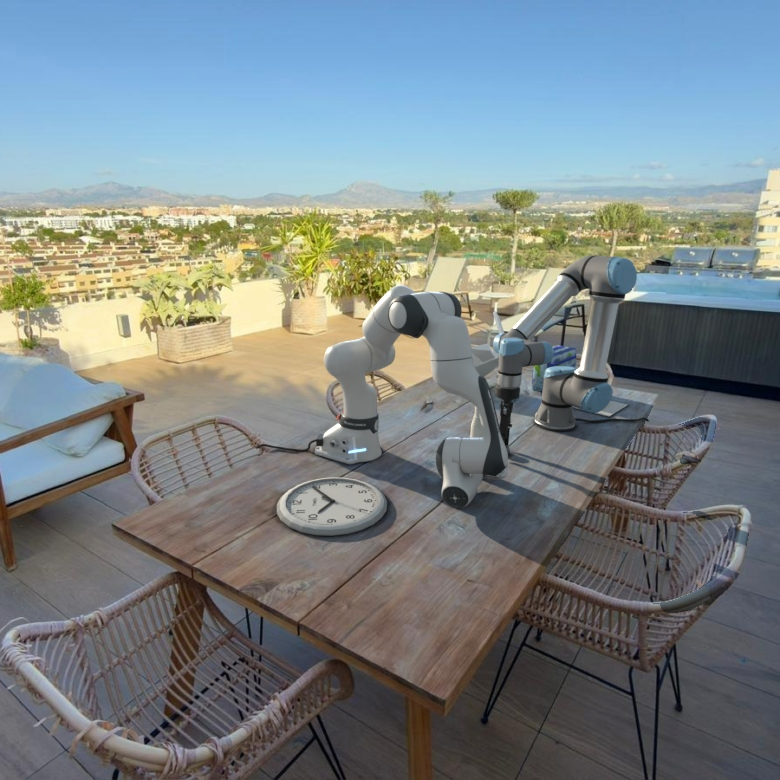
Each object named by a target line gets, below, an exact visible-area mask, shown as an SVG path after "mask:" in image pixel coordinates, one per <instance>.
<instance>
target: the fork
mask: <svg viewBox="0 0 780 780" xmlns="http://www.w3.org/2000/svg"><path fill="white" fill-rule="evenodd" d="M434 398H435V396H431V395H429V396H428V397H427V399H426V403H425V404H423V406H422V407H421V409H420V410H421V411H423V410H424V409H425V408H426V407H427V406H428V404H432V403H433V402H434Z"/></svg>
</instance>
